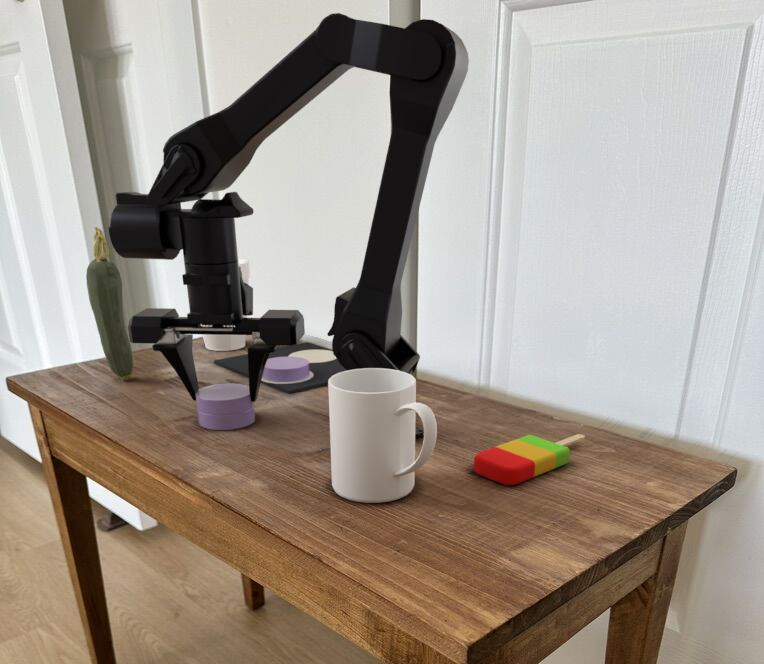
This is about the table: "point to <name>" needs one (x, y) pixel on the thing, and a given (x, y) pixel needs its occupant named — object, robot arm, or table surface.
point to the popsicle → (523, 458)
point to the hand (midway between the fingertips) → (225, 400)
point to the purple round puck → (286, 369)
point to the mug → (376, 434)
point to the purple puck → (224, 399)
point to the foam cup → (228, 340)
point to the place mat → (318, 357)
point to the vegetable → (109, 308)
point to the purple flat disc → (226, 420)
